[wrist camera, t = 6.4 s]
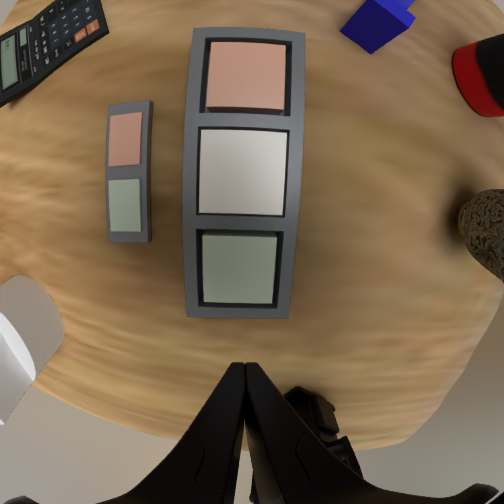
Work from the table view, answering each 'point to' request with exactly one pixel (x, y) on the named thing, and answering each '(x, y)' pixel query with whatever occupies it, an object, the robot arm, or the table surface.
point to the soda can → (482, 75)
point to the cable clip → (378, 23)
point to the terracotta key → (246, 78)
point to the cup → (484, 229)
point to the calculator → (47, 44)
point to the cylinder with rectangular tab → (25, 338)
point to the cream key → (242, 172)
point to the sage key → (238, 265)
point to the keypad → (284, 123)
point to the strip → (128, 172)
